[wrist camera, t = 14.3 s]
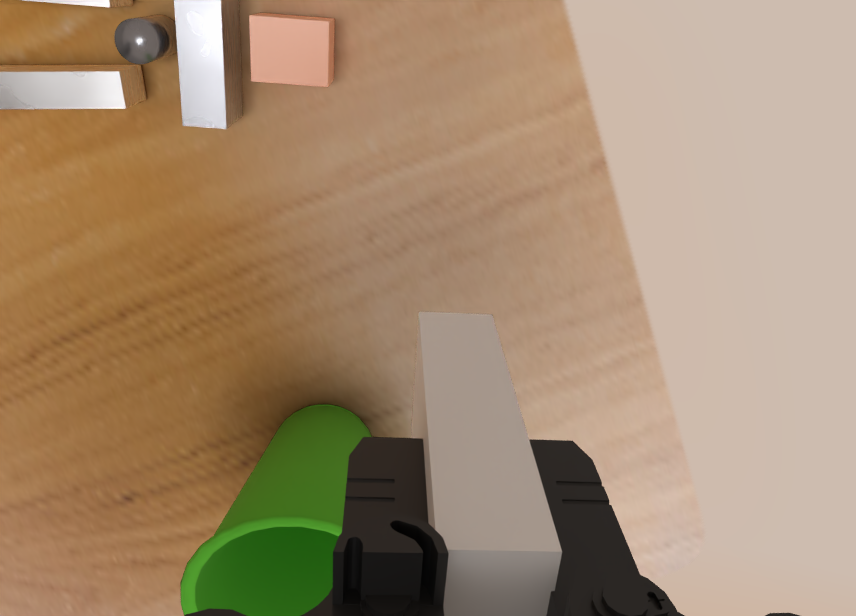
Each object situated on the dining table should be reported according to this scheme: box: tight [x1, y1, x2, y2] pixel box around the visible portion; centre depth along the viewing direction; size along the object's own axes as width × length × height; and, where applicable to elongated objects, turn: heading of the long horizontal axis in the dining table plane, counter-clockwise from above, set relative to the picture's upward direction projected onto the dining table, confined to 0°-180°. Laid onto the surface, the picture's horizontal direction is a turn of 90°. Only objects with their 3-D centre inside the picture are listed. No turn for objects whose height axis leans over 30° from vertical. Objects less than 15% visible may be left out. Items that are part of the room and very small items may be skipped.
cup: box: [181, 404, 372, 616], centre depth 33 cm, size 9×9×11 cm
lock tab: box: [249, 13, 335, 87], centre depth 28 cm, size 3×2×2 cm
